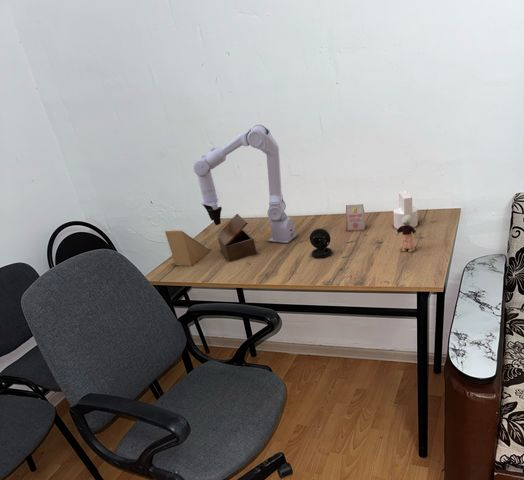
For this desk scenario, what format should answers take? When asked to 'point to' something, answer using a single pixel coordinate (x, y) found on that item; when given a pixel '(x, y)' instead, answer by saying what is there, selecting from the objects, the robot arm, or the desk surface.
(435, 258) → the desk surface
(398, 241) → the desk surface
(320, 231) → the webcam
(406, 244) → the grandmother figurine
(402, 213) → the cylinder with rectangular tab
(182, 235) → the sandwich container
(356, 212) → the grey printed box
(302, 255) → the desk surface
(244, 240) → the walnut box
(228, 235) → the lid
